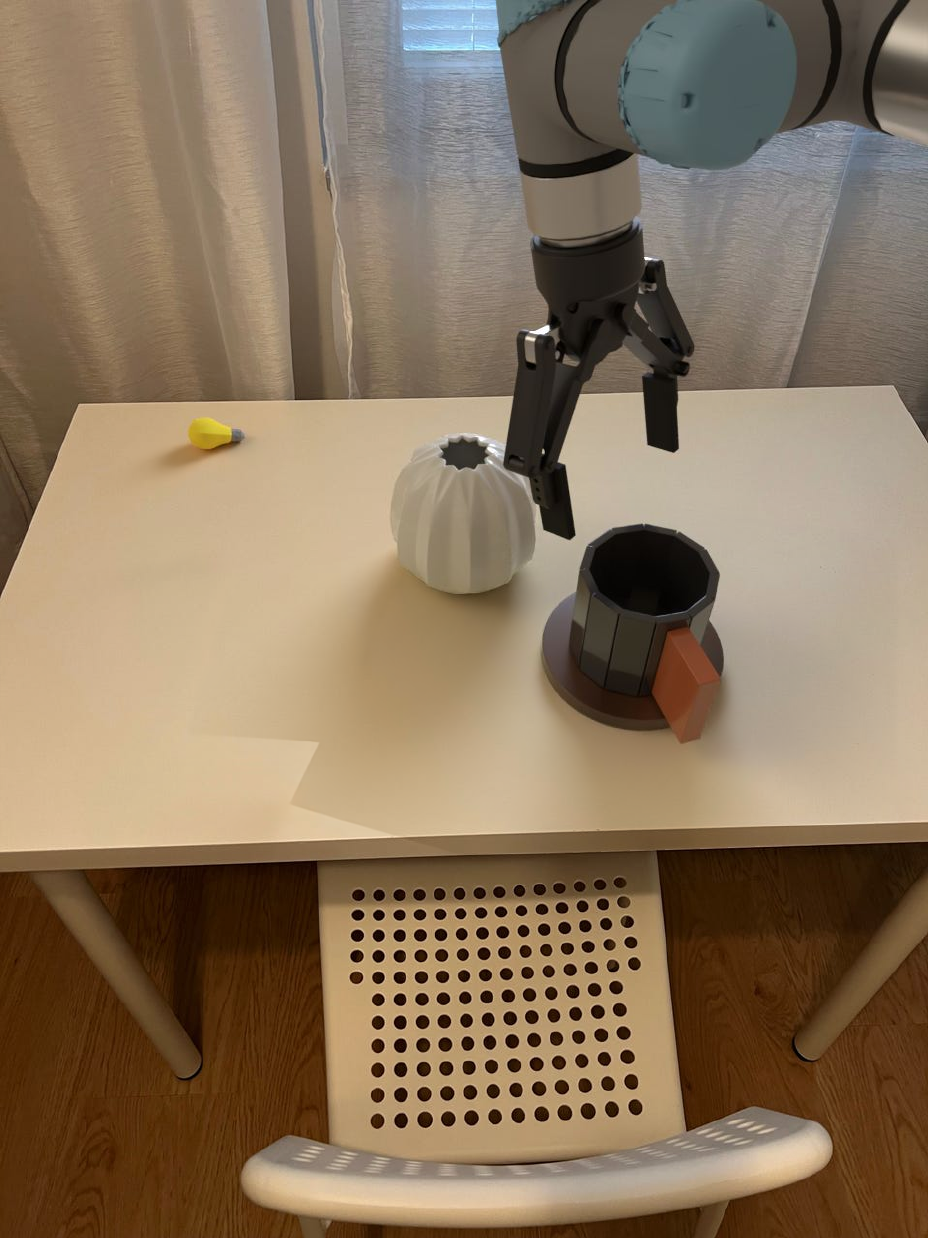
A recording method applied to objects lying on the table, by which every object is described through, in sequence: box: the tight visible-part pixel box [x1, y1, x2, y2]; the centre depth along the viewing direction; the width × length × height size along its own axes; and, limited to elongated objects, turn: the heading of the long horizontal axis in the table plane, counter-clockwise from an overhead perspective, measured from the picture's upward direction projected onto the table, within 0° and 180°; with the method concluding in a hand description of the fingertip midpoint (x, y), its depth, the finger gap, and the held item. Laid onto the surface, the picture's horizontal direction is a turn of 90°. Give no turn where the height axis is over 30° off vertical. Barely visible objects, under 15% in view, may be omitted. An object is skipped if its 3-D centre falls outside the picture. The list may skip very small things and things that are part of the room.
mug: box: [569, 523, 722, 745], centre depth 78 cm, size 12×15×10 cm
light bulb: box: [187, 416, 246, 450], centre depth 103 cm, size 3×6×4 cm, turn 106°
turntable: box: [540, 591, 725, 731], centre depth 84 cm, size 16×16×2 cm
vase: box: [389, 432, 537, 595], centre depth 87 cm, size 14×14×13 cm
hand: (613, 488), depth 76 cm, fingers open, 13 cm apart
